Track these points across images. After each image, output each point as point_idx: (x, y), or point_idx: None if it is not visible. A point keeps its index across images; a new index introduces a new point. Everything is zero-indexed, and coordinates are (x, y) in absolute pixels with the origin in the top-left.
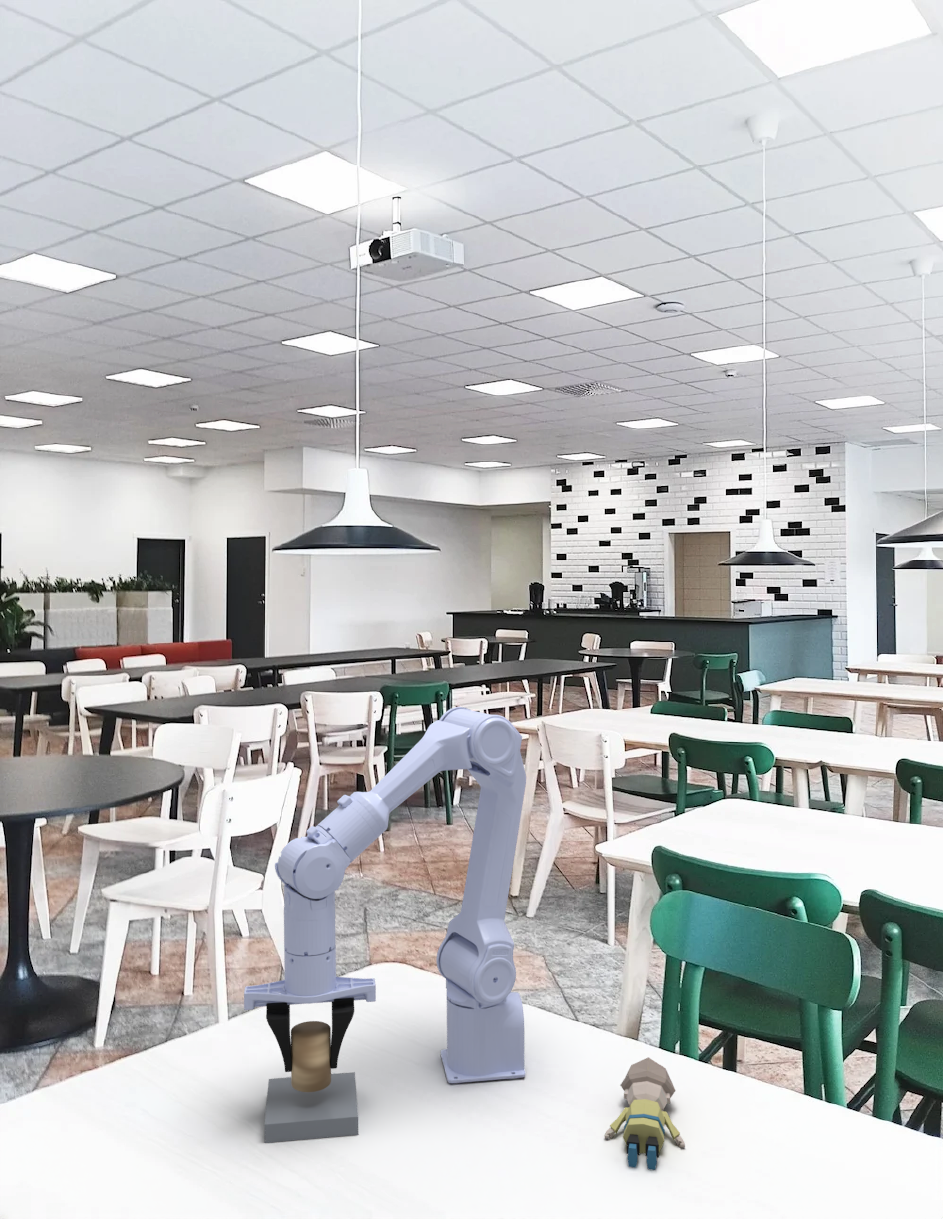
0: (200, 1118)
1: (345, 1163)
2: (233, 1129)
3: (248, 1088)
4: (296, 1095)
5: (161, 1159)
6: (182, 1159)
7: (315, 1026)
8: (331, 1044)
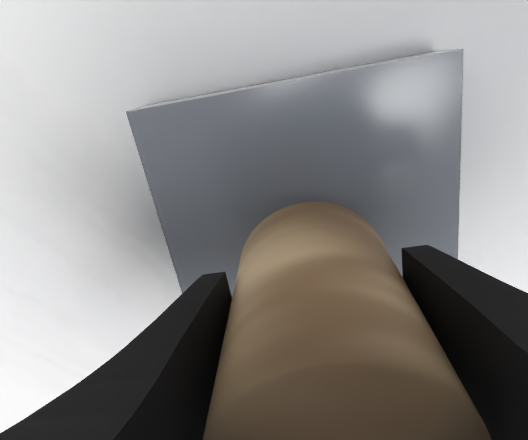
0: (8, 228)
1: None
2: (116, 275)
3: (61, 53)
4: (256, 224)
5: (17, 371)
6: (59, 372)
7: (374, 438)
8: (443, 344)
